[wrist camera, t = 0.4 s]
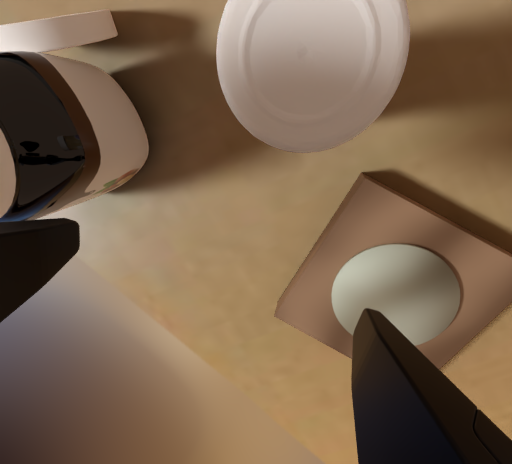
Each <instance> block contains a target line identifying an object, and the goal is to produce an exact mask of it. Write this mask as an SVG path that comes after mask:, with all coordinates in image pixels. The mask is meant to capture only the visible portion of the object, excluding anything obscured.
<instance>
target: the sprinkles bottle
mask: <svg viewBox="0 0 512 464" xmlns="http://www.w3.org/2000/svg"><path fill="white" fill-rule="evenodd" d="M409 42H410V21H409V15H408V9H407V3H406V0H228V2H227V4H226V6H225V9H224V12H223V15H222V18H221V22H220V25H219V30H218V37H217V48H216V61H217V70H218V77H219V81H220V85H221V88H222V91H223V94H224V96H225V99H226V101H227V103H228V105H229V107H230V109H231V110H232V112H233V114H234V115H235V117H236V118H237V119H238V121H239V122H240V123H241V124H242V125H243V127H244V128H245V129H246V130H248V131H249V132H250V133H251V134H252V135H253V136H254V137H256V138H257V139H259V140H261V141H262V142H264V143H266V144H268V145H270V146H272V147H275V148H277V149H281V150H285V151H289V152H298V153H309V152H318V151H323V150H327V149H331V148H334V147H336V146H338V145H341V144H343V143H345V142H347V141H349V140H351V139H353V138H354V137H356V136H357V135H359V134H360V133H361V132H363V131H364V130H365V129H366V128H367V127H369V126H370V125H371V124H372V123H373V122H374V121H375V120H376V119H377V118H378V117H379V115H380V114H381V113H382V112H383V110H384V109H385V108H386V106H387V105H388V103H389V102H390V100H391V99H392V97H393V95H394V93H395V92H396V90H397V88H398V85H399V83H400V81H401V78H402V75H403V72H404V69H405V66H406V62H407V57H408V52H409Z"/></svg>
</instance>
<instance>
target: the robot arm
mask: <svg viewBox="0 0 512 464" xmlns="http://www.w3.org/2000/svg"><path fill="white" fill-rule="evenodd" d="M79 246H80V233H79V224H78V223H77V222H76V221H73V220H70V219H66V218H58V219H42V220H26V221H10V222H0V322H2V321H3V320H4V319H5V318H7V317H8V316H9V315H10V314H11V313H12V312H14V311H15V310H16V309H17V308H18V307H20V306H21V305H22V304H23V303H24V302H26V301H27V300H28V299H29V298H30V297H32V296H33V295H34V294H35V293H36V292H37V291H39V290H40V289H41V288H42V287H43V286H44V285H45V284H46V283H47V282H48V281H49V280H50V279H51V278H52V277H53V276H54V275H55V274H56V273H57V272H58V271H59V270H60V269H61V268H62V267H63V266H64V265H65V264H66V263H67V262H68V261H69V260H70V259H71V258H72V257H73V256H74V255H75V254H76V253H77V251H78V250H79ZM352 399H353V410H354V420H355V431H356V442H357V453H358V463H359V464H512V440H511V439H510V438H509V437H507V436H506V435H505V434H504V433H503V432H502V431H501V430H500V429H499V428H498V427H497V426H496V425H495V424H494V423H493V422H492V421H491V420H490V419H489V418H488V417H487V416H486V415H485V414H484V413H483V412H482V411H481V410H479V409H478V410H477V407H476V405H475V404H474V403H473V402H472V401H471V400H469V399H468V398H467V397H466V396H465V395H464V394H463V393H462V392H461V391H460V390H459V389H458V388H457V387H456V386H455V385H454V384H453V383H452V382H451V381H450V380H449V379H448V378H447V377H446V376H445V375H444V374H443V373H442V372H441V371H440V370H439V369H438V368H437V367H436V366H435V365H434V364H433V363H432V362H431V361H430V360H429V359H428V358H427V357H426V356H425V355H424V354H423V353H422V352H421V351H420V350H419V349H418V348H417V347H416V346H415V345H414V344H413V343H411V342H410V341H409V340H408V339H407V338H406V337H405V336H404V335H403V334H402V333H401V332H400V331H399V330H398V329H397V328H396V327H395V326H394V325H393V324H392V323H391V322H390V321H389V320H388V319H387V318H386V317H385V316H384V315H383V314H382V313H381V312H380V311H377V310H374V309H370V308H365V309H364V310H363V312H362V314H361V316H360V318H359V321H358V323H357V325H356V327H355V330H354V333H353V347H352Z"/></svg>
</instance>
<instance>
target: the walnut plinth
mask: <svg viewBox="0 0 512 464" xmlns="http://www.w3.org/2000/svg"><path fill="white" fill-rule="evenodd" d="M511 302H512V253H510V252H508V251H506V250H504V249H502V248H500V247H499V246H497V245H495V244H493V243H491V242H489V241H487V240H486V239H484V238H482V237H480V236H478V235H476V234H475V233H473V232H471V231H469V230H467V229H465V228H463V227H462V226H460V225H458V224H456V223H454V222H452V221H450V220H449V219H447V218H445V217H443V216H441V215H439V214H437V213H436V212H434V211H432V210H430V209H428V208H426V207H424V206H423V205H421V204H419V203H417V202H415V201H413V200H412V199H410V198H408V197H406V196H404V195H402V194H400V193H399V192H397V191H395V190H393V189H391V188H389V187H387V186H386V185H384V184H382V183H380V182H378V181H376V180H374V179H373V178H371V177H369V176H367V175H365V174H363V173H362V172H361V174H360V175H359V177H358V179H357V180H356V182H355V183H354V185H353V186H352V188H351V189H350V191H349V192H348V194H347V196H346V197H345V199H344V200H343V202H342V203H341V205H340V206H339V208H338V209H337V211H336V213H335V214H334V216H333V217H332V219H331V220H330V222H329V223H328V225H327V226H326V228H325V230H324V231H323V233H322V234H321V236H320V237H319V239H318V240H317V242H316V243H315V245H314V247H313V248H312V250H311V251H310V253H309V254H308V256H307V257H306V259H305V260H304V262H303V264H302V265H301V267H300V268H299V270H298V271H297V273H296V274H295V276H294V277H293V279H292V281H291V282H290V284H289V285H288V287H287V288H286V290H285V291H284V293H283V294H282V296H281V298H280V299H279V301H278V303H277V307H276V311H275V315H274V316H275V317H277V318H278V319H280V320H282V321H284V322H286V323H288V324H289V325H291V326H293V327H295V328H297V329H298V330H300V331H302V332H304V333H306V334H308V335H309V336H311V337H313V338H315V339H317V340H318V341H320V342H322V343H324V344H326V345H327V346H329V347H331V348H333V349H335V350H337V351H338V352H340V353H342V354H344V355H346V356H347V357H349V358H351V359H352V347H353V333H354V330H355V327H356V325H357V323H358V321H359V318H360V316H361V314H362V312H363V310H364V309H365V308H370V309H374V310H377V311H380V312H381V313H382V314H383V315H384V316H385V317H386V318H387V319H388V320H389V321H390V322H391V323H392V324H393V325H394V326H395V327H396V328H397V329H398V330H399V331H400V332H401V333H402V334H403V335H404V336H405V337H406V338H407V339H408V340H409V341H410V342H411V343H413V344H414V345H415V346H416V347H417V348H418V349H419V350H420V351H421V352H422V353H423V354H424V355H425V356H426V357H427V358H428V359H429V360H430V361H431V362H432V363H433V364H434V365H435V366H436V367H437V368H438V369H440V368H441V367H442V366H443V365H444V364H445V363H446V362H448V361H449V360H450V359H451V358H452V357H453V356H454V355H455V354H456V353H457V352H458V351H459V350H460V349H462V348H463V347H464V346H465V345H466V344H467V343H468V342H469V341H470V340H471V339H472V338H473V337H474V336H476V335H477V334H478V333H479V332H480V331H481V330H482V329H483V328H484V327H485V326H486V325H487V324H489V323H490V322H491V321H492V320H493V319H494V318H495V317H496V316H497V315H498V314H499V313H500V312H501V311H503V310H504V309H505V308H506V307H507V306H508V305H509V304H510V303H511Z"/></svg>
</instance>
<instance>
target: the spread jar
mask: <svg viewBox="0 0 512 464" xmlns="http://www.w3.org/2000/svg"><path fill="white" fill-rule="evenodd" d="M117 35H118V33H117V30H116V27H115V24H114V21H113V18H112V15H111V12H110V9H106V10H99V11H92V12H85V13H78V14H71V15H64V16H58V17H51V18H44V19H37V20H31V21H24V22H17V23H11V24H4V25H0V222H10V221H26V220H35V219H38V218H40V217H43V216H46V215H49V214H51V213H54V212H57V211H60V210H62V209H65V208H68V207H71V206H74V205H76V204H79V203H82V202H85V201H87V200H90V199H92V198H95V197H97V196H100V195H102V194H105V193H107V192H109V191H111V190H114V189H116V188H118V187H119V186H121V185H123V184H124V183H126V182H127V181H129V180H130V179H131V178H133V177H134V176H135V175H136V174H137V173H138V172H139V171H140V169H141V168H142V167H143V165H144V164H145V162H146V160H147V158H148V154H149V142H148V137H147V134H146V130H145V128H144V125H143V122H142V120H141V118H140V116H139V114H138V112H137V110H136V108H135V106H134V105H133V103H132V102H131V100H130V99H129V97H128V96H127V95H126V93H125V92H124V91H123V89H122V88H121V87H120V86H119V85H118V83H117V82H116V81H115V80H114V79H113V78H112V77H111V76H110V75H109V74H107V73H106V72H104V71H103V70H101V69H100V68H98V67H96V66H93V65H91V64H88V63H84V62H81V61H77V60H72V59H68V58H63V57H58V56H54V55H49V54H43V53H41V52H48V51H53V50H59V49H65V48H70V47H75V46H80V45H85V44H90V43H94V42H99V41H103V40H106V39H110V38H113V37H116V36H117Z"/></svg>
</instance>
